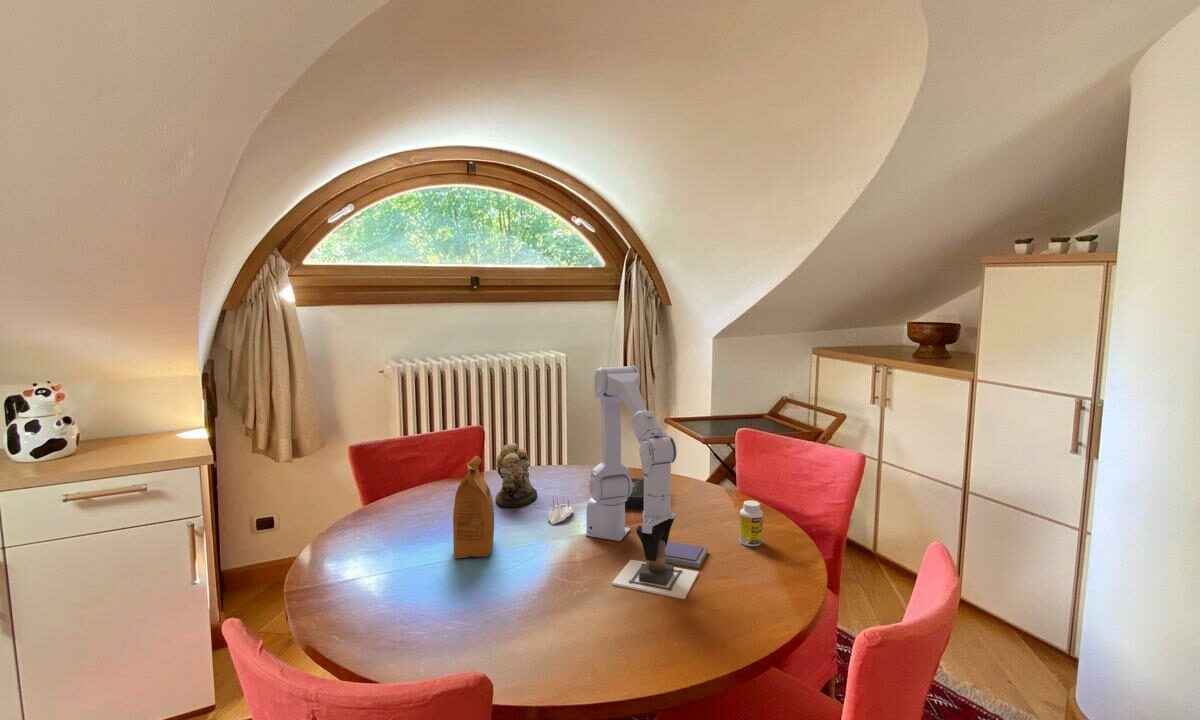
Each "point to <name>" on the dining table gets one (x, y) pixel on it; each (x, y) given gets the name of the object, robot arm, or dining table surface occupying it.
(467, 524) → the coffee package
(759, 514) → the supplement bottle
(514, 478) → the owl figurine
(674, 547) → the ink pad
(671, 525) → the robot arm
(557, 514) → the pincushion
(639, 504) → the portable cd player
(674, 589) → the marked board
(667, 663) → the dining table surface
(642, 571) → the stamp
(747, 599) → the dining table surface
